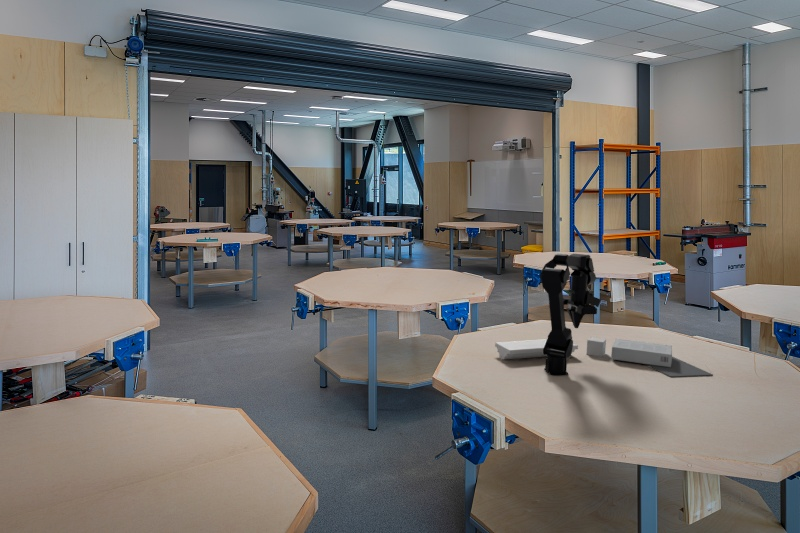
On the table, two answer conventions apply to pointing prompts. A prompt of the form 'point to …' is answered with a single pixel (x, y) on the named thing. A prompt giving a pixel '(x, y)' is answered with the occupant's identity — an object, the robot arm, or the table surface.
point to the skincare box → (642, 352)
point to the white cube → (596, 346)
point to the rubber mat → (680, 369)
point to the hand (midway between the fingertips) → (576, 328)
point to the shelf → (523, 349)
